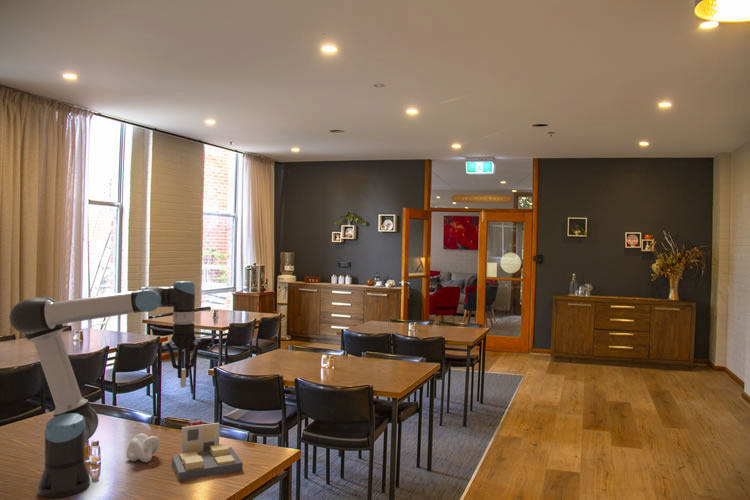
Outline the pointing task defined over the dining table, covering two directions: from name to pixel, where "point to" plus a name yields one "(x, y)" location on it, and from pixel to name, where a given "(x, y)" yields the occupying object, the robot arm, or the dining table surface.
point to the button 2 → (193, 462)
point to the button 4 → (224, 460)
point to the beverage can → (194, 422)
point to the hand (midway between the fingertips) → (183, 386)
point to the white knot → (142, 447)
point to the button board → (203, 453)
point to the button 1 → (187, 455)
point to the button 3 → (219, 450)
